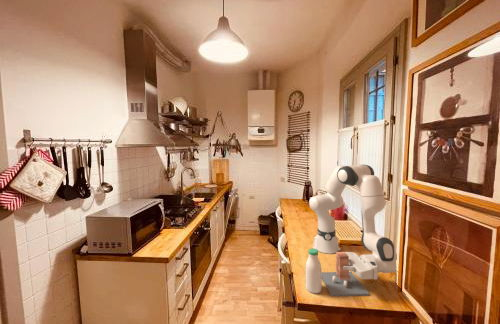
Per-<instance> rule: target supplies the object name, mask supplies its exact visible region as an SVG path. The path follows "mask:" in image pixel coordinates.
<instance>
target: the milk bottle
mask: <svg viewBox="0 0 500 324" xmlns="http://www.w3.org/2000/svg"><path fill="white" fill-rule="evenodd" d="M307 252H308V258H307V260H306V261H305V289H306V290H307V291H308V292H309V293H311V294H319V293H321V292H322V286H323V285H322V282H323V280H322V276H321V272H322V265H321V262H320V260H319V257H318V256H319V251H318V250H316V249H313V248H309V249H308V251H307Z"/></svg>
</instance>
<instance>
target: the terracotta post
mask: <svg viewBox="0 0 500 324" xmlns="http://www.w3.org/2000/svg"><path fill="white" fill-rule="evenodd" d="M345 252H346V251H337V252H336V253H335V266H336V267H335V268H336V269H335V270H336V271H335V272H336V275H337V276H338V277H339V279H340V280H343V279H349V272H350V271H349V270H344V269H343V265H346V266H349V256H348V255H347V254H346V253H345Z"/></svg>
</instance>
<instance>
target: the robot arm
mask: <svg viewBox="0 0 500 324" xmlns="http://www.w3.org/2000/svg"><path fill="white" fill-rule="evenodd" d="M346 186H352V187H354V186H357V188H358V189H359V192H360V200H361V211H360V212H361V225H362V235H361V238H360V241H361V245H362V247H363V248H364V249H365V250H366V251H370V252H372V253H371V254H370V253H369V254H367V253H366V254H360V255H359V254H357V253H356V252H353V251H352V252H351V251H344V252H345V253H346V254H347V255H348V256H349V266H346V265H343V269H344V270H349V272H354V273H353V274H355V275H356V276H357V277H358V278H359V279H361V280H378V277H379V276H378V274H379V273H382V274H389V273H397V272H396V260H397V255H398V254H397V252H396V250H395V249H396V248H395V245H394V242H393V241H392V240H391V239H390V238H388V237H385V236H383V235H380V234H378V233H377V231H376V224H375V221H376V220H375V217H376V215H377V214H378V213H380V212H381V211H383V210H384V209H385V207H386V197H385V193H384V189H383V186H382V183H381V180H380V179H379V177H378V176H376V175H375V171H374V169H373V167H372V166H371V165H368V164H351V165H337V166H336V167H335V169H333V171H332V172H331V174H330V176H329V178H328V179H327V182H326V183H325V185H324V187H325V188H324V189H325V191H326V193H325V194H324V193H323V194H317V195H314V196H312V197H310V198H309V201H308V206H309V208H310V209H311V210H312V211H313V212H314V213H315V214H316V217H317V231H316V232H317V234H316V236H313V243H312V249H316V250H318V252H319V253H323V254H327V255H328V254H329V255H330V254H332V255H333V254H336V252H341V250H342V249H341V247H340V246H339V240H338V237H337V236H336V233H337V232H336V228H335V227H336V220H335V218H334V217H333V216H332V215H330V211H332V210H336V209H339V208H341V207H343V205H344V199H343V197H342V193H343V191H344V190H345V188H346Z"/></svg>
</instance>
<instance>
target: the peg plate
mask: <svg viewBox="0 0 500 324" xmlns="http://www.w3.org/2000/svg"><path fill="white" fill-rule="evenodd" d="M321 276H322V282H323V284H324V286H325V287H326V288H325V289H326V290H327V291H328V293H329V295H330V297H363V296H364V297H365V296H367V297H368V296H370V293H369V291H368V290H367V289H366V288H365V286H363V284H362V283H361V282H360V281H359V279H358V278H357V277H356V276H355V275H354V273H353V271H349V279H343V280H340V279H339V277H338V276H337V275H336V271H330V272H329V271H327V272H326V271H324V272H322V271H321Z"/></svg>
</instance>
